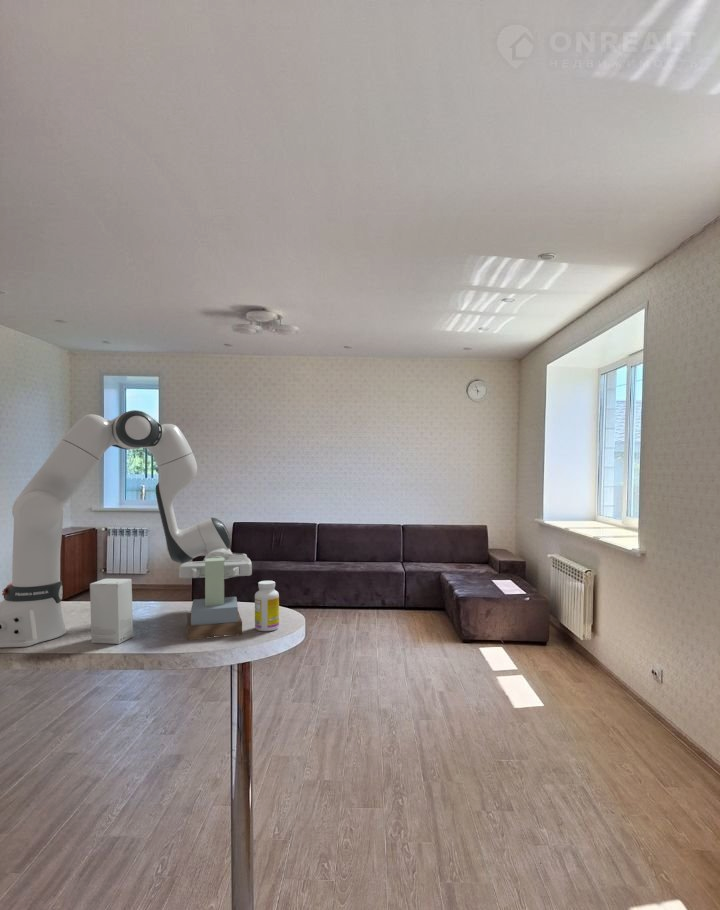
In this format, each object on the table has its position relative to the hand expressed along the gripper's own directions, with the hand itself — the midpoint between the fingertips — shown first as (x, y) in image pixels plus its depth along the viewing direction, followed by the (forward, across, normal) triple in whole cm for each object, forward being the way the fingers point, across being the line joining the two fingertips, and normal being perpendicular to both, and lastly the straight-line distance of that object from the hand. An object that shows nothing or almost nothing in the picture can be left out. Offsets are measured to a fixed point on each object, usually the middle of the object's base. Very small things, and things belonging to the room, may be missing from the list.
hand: (214, 574), depth 147 cm
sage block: (-1, 0, +8) cm, 8 cm away
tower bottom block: (-1, 0, +16) cm, 16 cm away
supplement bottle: (+1, +14, +16) cm, 21 cm away
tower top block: (-1, 0, +12) cm, 12 cm away
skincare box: (+2, -26, +16) cm, 30 cm away
